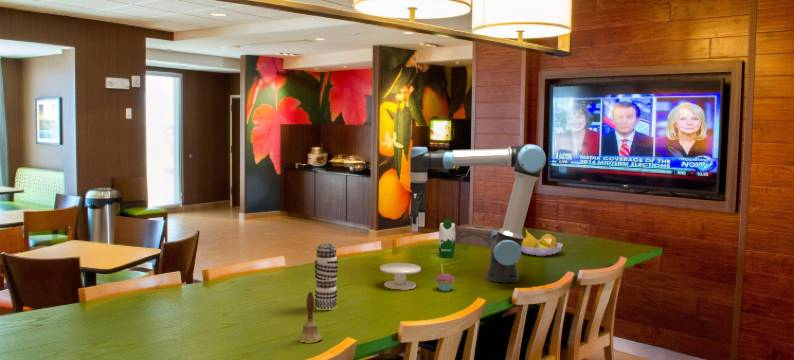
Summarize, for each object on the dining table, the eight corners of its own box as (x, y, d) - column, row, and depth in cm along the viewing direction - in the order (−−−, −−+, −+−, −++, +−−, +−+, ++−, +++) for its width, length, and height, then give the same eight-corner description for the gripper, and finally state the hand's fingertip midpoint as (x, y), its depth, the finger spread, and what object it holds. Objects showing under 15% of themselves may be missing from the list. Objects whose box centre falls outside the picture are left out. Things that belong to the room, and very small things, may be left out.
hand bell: (292, 340, 220) (292, 292, 218) (310, 333, 226) (310, 288, 225) (310, 345, 214) (310, 297, 213) (327, 339, 221) (328, 292, 220)
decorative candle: (338, 305, 262) (339, 242, 259) (337, 311, 252) (337, 247, 250) (315, 304, 261) (315, 242, 259) (312, 311, 252) (313, 246, 250)
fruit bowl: (567, 259, 359) (568, 238, 358) (517, 258, 360) (518, 237, 359) (556, 249, 387) (557, 230, 386) (510, 248, 388) (510, 229, 387)
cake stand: (423, 283, 300) (424, 264, 299) (416, 292, 282) (416, 273, 282) (385, 280, 304) (385, 261, 303) (375, 289, 286) (375, 270, 286)
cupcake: (438, 292, 283) (439, 265, 282) (432, 287, 292) (433, 261, 291) (457, 291, 286) (458, 264, 285) (450, 286, 294) (451, 260, 293)
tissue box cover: (454, 242, 402) (455, 226, 401) (466, 239, 413) (467, 223, 412) (492, 248, 386) (492, 231, 385) (504, 245, 398) (504, 228, 397)
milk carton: (438, 258, 355) (439, 221, 353) (438, 254, 364) (439, 218, 362) (454, 258, 354) (455, 221, 352) (454, 255, 363) (455, 219, 361)
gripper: (416, 179, 308) (416, 224, 310) (403, 184, 284) (403, 233, 286) (432, 179, 306) (431, 225, 308) (420, 184, 282) (420, 233, 284)
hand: (418, 228), depth 297 cm, fingers open, 13 cm apart
